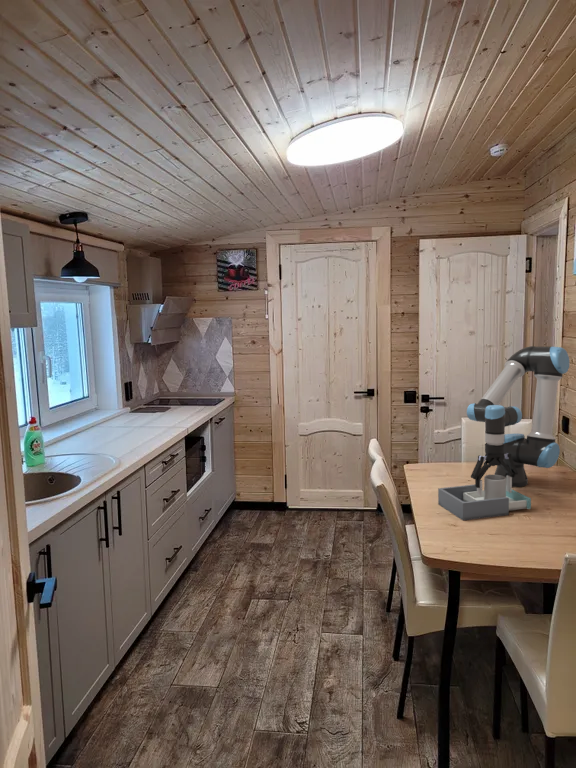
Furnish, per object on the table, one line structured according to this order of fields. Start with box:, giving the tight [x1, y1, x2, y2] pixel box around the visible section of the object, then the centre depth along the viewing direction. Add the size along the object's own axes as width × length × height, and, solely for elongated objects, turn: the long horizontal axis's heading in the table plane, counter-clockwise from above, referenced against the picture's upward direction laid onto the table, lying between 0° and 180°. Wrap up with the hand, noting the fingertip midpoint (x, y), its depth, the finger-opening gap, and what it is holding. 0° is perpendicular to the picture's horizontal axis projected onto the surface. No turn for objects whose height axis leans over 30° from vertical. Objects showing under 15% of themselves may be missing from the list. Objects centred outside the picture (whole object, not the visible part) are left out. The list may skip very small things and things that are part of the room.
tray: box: [463, 489, 532, 511], centre depth 230 cm, size 20×19×4 cm
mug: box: [483, 474, 506, 500], centre depth 230 cm, size 12×8×11 cm
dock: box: [437, 484, 510, 521], centre depth 228 cm, size 20×20×7 cm
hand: (494, 493), depth 230 cm, fingers open, 13 cm apart
